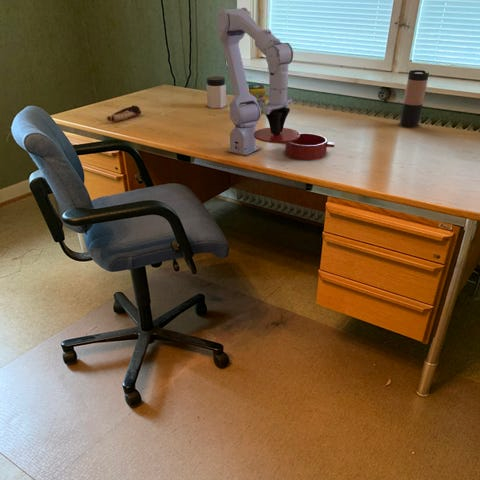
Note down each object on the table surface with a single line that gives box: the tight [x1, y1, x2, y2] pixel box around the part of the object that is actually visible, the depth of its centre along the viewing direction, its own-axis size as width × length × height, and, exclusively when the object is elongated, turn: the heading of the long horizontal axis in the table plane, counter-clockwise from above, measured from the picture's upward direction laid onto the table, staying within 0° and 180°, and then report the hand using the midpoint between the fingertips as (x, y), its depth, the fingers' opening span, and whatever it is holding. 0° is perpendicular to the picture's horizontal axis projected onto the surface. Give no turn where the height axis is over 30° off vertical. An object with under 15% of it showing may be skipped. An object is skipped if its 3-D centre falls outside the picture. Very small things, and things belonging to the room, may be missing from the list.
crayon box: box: [248, 83, 267, 114], centre depth 216 cm, size 7×3×12 cm, turn 105°
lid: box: [253, 122, 300, 144], centre depth 161 cm, size 15×15×5 cm
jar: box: [205, 75, 227, 109], centre depth 226 cm, size 9×8×12 cm
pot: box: [283, 132, 336, 161], centre depth 174 cm, size 14×20×5 cm
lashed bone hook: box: [106, 104, 142, 122], centre depth 212 cm, size 9×5×18 cm
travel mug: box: [399, 69, 430, 129], centre depth 197 cm, size 8×8×20 cm
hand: (276, 132), depth 161 cm, fingers closed on lid, 2 cm apart
